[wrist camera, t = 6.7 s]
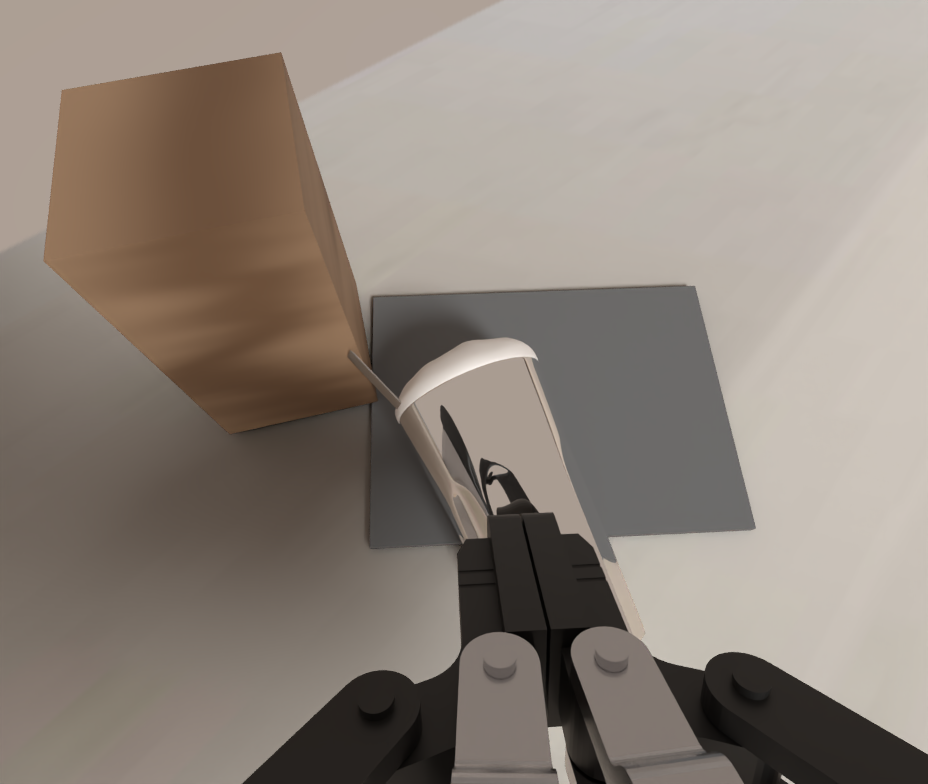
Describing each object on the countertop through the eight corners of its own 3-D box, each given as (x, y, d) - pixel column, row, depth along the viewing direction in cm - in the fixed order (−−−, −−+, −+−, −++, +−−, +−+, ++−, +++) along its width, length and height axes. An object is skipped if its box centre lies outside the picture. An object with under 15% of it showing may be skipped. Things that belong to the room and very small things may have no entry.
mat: (370, 548, 18) (369, 547, 18) (374, 301, 21) (373, 297, 21) (751, 530, 18) (755, 528, 18) (691, 290, 22) (694, 285, 22)
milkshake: (457, 713, 15) (334, 387, 18) (604, 628, 18) (476, 353, 21) (533, 724, 12) (363, 309, 14) (706, 615, 14) (534, 279, 17)
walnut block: (229, 434, 19) (43, 260, 11) (222, 311, 21) (61, 90, 13) (377, 401, 19) (304, 210, 11) (356, 283, 22) (280, 52, 13)
